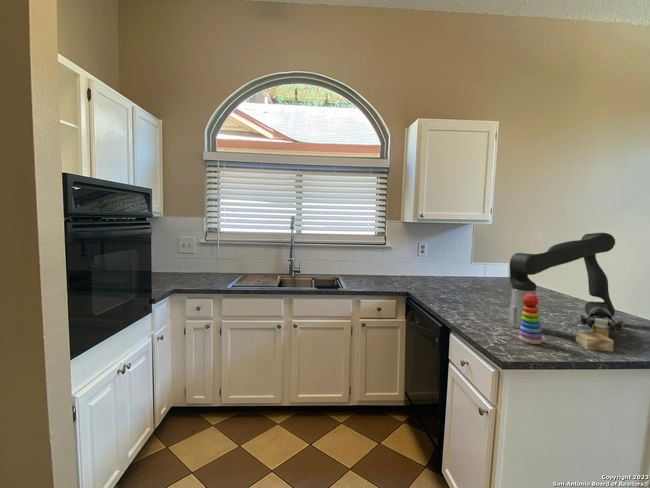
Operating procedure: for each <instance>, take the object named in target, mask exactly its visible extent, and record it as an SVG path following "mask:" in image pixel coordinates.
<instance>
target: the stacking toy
mask: <svg viewBox="0 0 650 488" xmlns="http://www.w3.org/2000/svg"><path fill="white" fill-rule="evenodd" d="M523 303H524V304H525V305H526V306H524V307H523V310H524V311H523V312H522V315H523V316H522V317H521V319H522V321H521V326H520V329H519V335H518V339H519V340H520V342H523V343H525V342H526V344H529V343H530V345H541V344H542V343H543V341H544V339H543V334H542V329H541V323H540V317H539V308H538V307H537V305H538V303H539V299H538V297H537V295H536V296H535V295H532V294H527V295H525V296H524V297H523Z"/></svg>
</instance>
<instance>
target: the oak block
mask: <svg viewBox="0 0 650 488" xmlns="http://www.w3.org/2000/svg"><path fill="white" fill-rule="evenodd" d="M575 343H577V344H579V345H580V346H581V347H582V348H584V349H586V350H591V351H602V352H603V351H604V352H614V343H615V341H614V340H613V339H611V338H608V337H606V336H604V335H603V334H601V333H593V332H586V331H576V332H575Z"/></svg>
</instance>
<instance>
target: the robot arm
mask: <svg viewBox="0 0 650 488" xmlns="http://www.w3.org/2000/svg"><path fill="white" fill-rule="evenodd" d="M615 245H616V239H615V237H614V236H613V235H612V234H611V233H607V232H596V233H595V232H593V233H585V234H584V235H583V236H582V237H581V238H580V239H578V240H576V239H575V240H569V241H564V242H560V243H557V244H553V245H552V246H551V247H550V246H549V248H548V249H547V251H545V252H541V253H525V252H516V253H514V254H512V256H511V257H510V260H509V280H510V283H511V302H510V303H509V318H508V319H509V320H508V322H509V325H510V326H511V327H512V328H514V329H519V330H521V329H520V326H521V321H522V319H521V317H522V316H523V315H522V312H523V311H524V310H523V307H524V306H526V305H525V304H524V303H523V297H524V296H525V295H527V294H532V295H535V296H536V297H537V284H536V283H535V282H534V281H533V280H531V279H530V277H529V276H532V275H536V274H539V273H541V272H543V271H546V270H548V269H551V268H553V267H556V266H560V265H564V264H569V263H571V262H575V261H577V260H579V259H583V261H584V265H585V269H586V272H587V280H588V293H589V296H590V297H594V298H600V299H602V301H593V300H591V301H587V302H586V303H585V304H584V311H585V314H586V315H587V317H586V316H584V315H579V320H578V321H579V322H580V324H581V325H583V326H586V325H587V327H589V328H590V329H593V324H594V323H595V322H594V321H595V318H601V319H606V320H608V324H607V325H608V326H609V331H610V332H614V331H615V330H617V331H621V330H622V329H623V328H624V321H623V320H619V321H615V320H614V319H613V317H614V316H615V314H616V310H615V307H614V305H613V302H612V300H611V298H610V293H609V281H608V276H607V274H606V273H605V272H604V270H603V269H602V267H601V266H600V264H599V263H598V260H597V255H596V254H601V253H608V252H610V251H611V250H613V248H614V247H615Z"/></svg>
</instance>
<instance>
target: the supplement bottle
mask: <svg viewBox="0 0 650 488" xmlns="http://www.w3.org/2000/svg"><path fill="white" fill-rule="evenodd" d="M594 322H595V323H594V324H593V326H592V333H601V334H603V335H604V336H606V337H608V338H609V333H610V332H609V331H610V329H609V326H608V325H607V324H608V320H606V319H601V318H595V321H594Z"/></svg>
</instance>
